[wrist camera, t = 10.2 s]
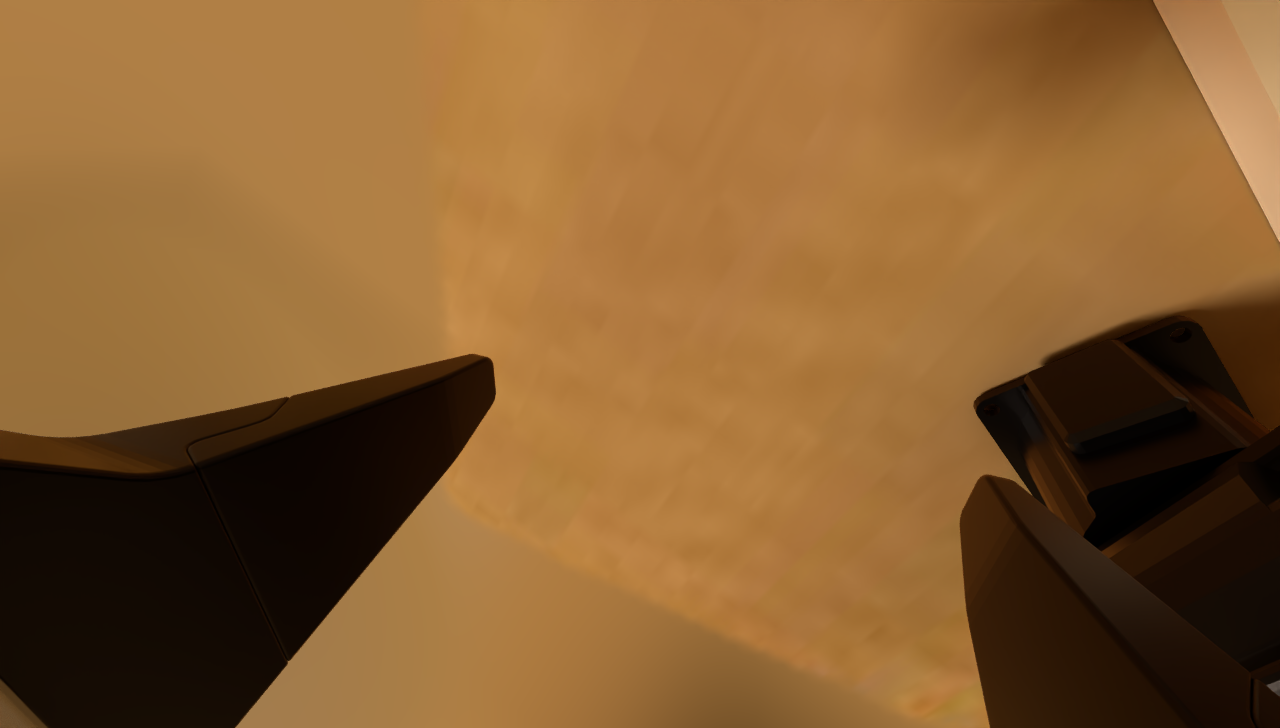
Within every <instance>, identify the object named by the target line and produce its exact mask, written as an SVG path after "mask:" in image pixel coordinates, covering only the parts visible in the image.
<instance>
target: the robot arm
mask: <svg viewBox="0 0 1280 728" xmlns="http://www.w3.org/2000/svg"><path fill="white" fill-rule="evenodd" d="M1180 328H1184V329H1185V330H1184V332H1183V334H1181V335H1180V336H1178V337H1174V338H1170V335H1171V334H1172V332H1173V331H1175V330H1177V329H1180ZM495 395H496V388H495V377H494V366H493V362H492V360H491V359H490V358H488V357H485V356H481V355H476V354H468V355H464V356H460V357H455V358H451V359H447V360H443V361H438V362H434V363H430V364H426V365H421V366H417V367H413V368H408V369H404V370H400V371H396V372H391V373H387V374H383V375H378V376H374V377H370V378H365V379H361V380H357V381H353V382H348V383H344V384H340V385H336V386H331V387H327V388H323V389H318V390H314V391H310V392H305V393H301V394H297V395H293V396H291V397H290V398H289V397H284V398H280V399H275V400H271V401H266V402H262V403H257V404H253V405H249V406H244V407H239V408H235V409H230V410H226V411H220V412H215V413H210V414H206V415H200V416H195V417H190V418H185V419H180V420H175V421H169V422H164V423H159V424H153V425H148V426H143V427H137V428H132V429H127V430H122V431H117V432H111V433H106V434H99V435H93V436H83V437H43V436H35V435H28V434H22V433H16V432H10V431H3V430H0V728H235V727H236V726H237V725H238V724H239V723H240V721H241V720H242V719H243V718H244V716H245V715H246V714H247V713H248V712H249V710H250V709H251V708H252V707H253V706H254V704H255V703H256V702H257V701H258V700H259V698H260V697H261V696H262V695H263V693H264V692H265V691H266V690H267V689H268V687H269V686H270V685H271V684H272V682H273V681H274V680H275V679H276V678H277V676H278V675H279V674H280V673H281V671H282V670H283V669H284V668H285V667H286V666H287V664H288V661H290V660H291V659H292V658H293V656H294V655H295V654H296V653H297V652H298V651H299V649H300V648H301V647H302V646H303V644H304V643H305V642H306V641H307V640H308V638H309V637H310V636H311V634H313V632H314V631H315V630H316V629H317V627H318V626H319V625H320V624H321V622H322V621H323V620H324V619H325V618H326V617H327V615H328V614H329V613H330V612H331V611H332V609H333V608H334V607H335V606H336V604H337V603H338V602H339V601H340V600H341V598H342V597H343V596H344V595H345V593H346V592H347V591H348V590H349V589H350V587H351V586H352V585H353V584H354V583H355V581H356V580H357V579H358V578H359V577H360V575H361V574H362V573H363V572H364V570H365V569H366V568H367V567H368V566H369V564H370V563H371V562H372V561H373V560H374V558H375V557H376V556H377V554H378V553H379V552H380V551H381V550H382V549H383V547H384V546H385V545H386V544H387V543H388V541H389V540H390V539H391V538H392V536H393V535H394V534H395V533H396V532H397V530H398V529H399V528H400V527H401V526H402V524H403V523H404V522H405V521H406V519H407V518H408V517H409V516H410V515H411V513H412V512H413V511H414V510H415V509H416V507H417V506H418V505H419V504H420V502H421V501H422V500H423V499H424V498H425V496H426V495H427V494H428V493H429V492H430V490H431V489H432V488H433V487H434V486H435V484H436V483H437V482H438V481H439V479H440V478H441V477H442V476H443V475H444V473H445V472H446V471H447V470H448V469H449V467H450V466H451V465H452V463H453V462H454V461H455V460H456V458H457V457H458V455H459V454H460V453H461V451H462V450H463V448H464V447H465V445H466V444H467V442H468V441H469V439H470V438H471V436H472V435H473V433H474V432H475V430H476V429H477V427H478V425H479V424H480V422H481V421H482V419H483V418H484V416H485V415H486V413H487V412H488V410H489V409H490V407H491V406H492V404H493V402H494V400H495ZM990 404H995V405H997V406H996V408H994V409H993V410H984V408H985V407H986V406H987V405H990ZM974 409H975V411H976V414H977V416H978V417H979V419H980V420H981V422H982V423H983V424H984V426H985V427H986V429H987V430H988V432H989V433H990V435H991V436H992V437H993V439H994V440H995V442H996V443H997V445H998V446H999V448H1000V449H1001V450H1002V452H1003V453H1004V455H1005V456H1006V458H1007V459H1008V461H1009V462H1010V463H1011V465H1012V466H1013V468H1014V469H1015V471H1016V472H1017V473H1018V475H1019V476H1020V478H1021V479H1022V481H1023V482H1024V484H1025V485H1026V486H1027V488H1028V489H1029V491H1030V492H1031V494H1032V495H1033V496H1032V495H1031V494H1029V493H1028V492H1027V491H1026V490H1024V489H1023V488H1022V487H1021V486H1019V485H1018V484H1017V483H1016V482H1014V481H1012V480H1010V479H1005V478H1001V477H997V476H992V475H987V474H986V475H983V476H981V477H980V478H979V479H978V481H977V483H976V485H975V487H974V488H973V490H972V492H971V494H970V496H969V498H968V500H967V502H966V504H965V506H964V508H963V510H962V513H961V517H960V537H961V550H962V564H963V577H964V590H965V602H966V611H967V617H968V622H969V628H970V633H971V638H972V642H973V647H974V652H975V657H976V662H977V667H978V672H979V676H980V681H981V686H982V691H983V696H984V701H985V706H986V710H987V715H988V720H989V725H990V728H1280V426H1278V427H1277V428H1275V429H1274V430H1272V431H1271V432H1270V431H1269V430H1268V429H1266V428H1265V427H1264V426H1262V425H1261V424H1260V423H1259V422H1257V421H1256V420H1255V419H1254V417H1253V416H1252V414H1251V412H1250V411H1249V409H1248V407H1247V405H1246V404H1245V402H1244V400H1243V398H1242V397H1241V395H1240V393H1239V391H1238V390H1237V388H1236V386H1235V384H1234V383H1233V381H1232V379H1231V377H1230V376H1229V374H1228V372H1227V371H1226V369H1225V367H1224V365H1223V364H1222V362H1221V360H1220V358H1219V357H1218V355H1217V353H1216V351H1215V350H1214V348H1213V346H1212V344H1211V343H1210V341H1209V339H1208V337H1207V336H1206V334H1205V332H1204V331H1203V329H1202V327H1201V326H1200V325H1199V324H1198V323H1196V322H1195V321H1193V320H1191V319H1190V318H1187V317H1184V316H1173V317H1170V318H1166V319H1164V320H1161V321H1159V322H1157V323H1154V324H1152V325H1149V326H1147V327H1144V328H1142V329H1140V330H1137V331H1135V332H1132V333H1130V334H1128V335H1125V336H1123V337H1120V338H1118V339H1115V340H1106V341H1103V342H1101V343H1098V344H1096V345H1094V346H1091V347H1089V348H1086V349H1084V350H1081V351H1079V352H1077V353H1074V354H1072V355H1069V356H1067V357H1065V358H1062V359H1060V360H1057V361H1055V362H1053V363H1050V364H1048V365H1045V366H1043V367H1041V368H1038V369H1036V370H1033V371H1031V372H1029V373H1028V374H1027V376H1026V377H1023V378H1021V379H1019V380H1016V381H1014V382H1011V383H1009V384H1006V385H1004V386H1002V387H999V388H997V389H994V390H992V391H990V392H987V393H985V394H982V395H981V396H979V397H977V399H976V400H975V401H974Z"/></svg>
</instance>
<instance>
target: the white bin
mask: <svg viewBox="0 0 1280 728" xmlns="http://www.w3.org/2000/svg"><path fill="white" fill-rule="evenodd" d="M1153 2H1154V4H1155V6H1156V7H1157V9H1158V11H1159V13H1160V15H1161V17H1162V19H1163V21H1164V23H1165V25H1166V26H1167V28H1168V30H1169V32H1170V34H1171V36H1172V38H1173V40H1174V42H1175V44H1176V46H1177V47H1178V49H1179V51H1180V53H1181V55H1182V57H1183V59H1184V61H1185V63H1186V65H1187V67H1188V68H1189V70H1190V72H1191V74H1192V76H1193V78H1194V80H1195V82H1196V84H1197V86H1198V88H1199V89H1200V91H1201V93H1202V95H1203V97H1204V99H1205V101H1206V103H1207V105H1208V107H1209V108H1210V110H1211V112H1212V114H1213V116H1214V118H1215V120H1216V122H1217V124H1218V126H1219V128H1220V129H1221V131H1222V133H1223V135H1224V137H1225V139H1226V141H1227V143H1228V145H1229V147H1230V149H1231V150H1232V152H1233V154H1234V156H1235V158H1236V160H1237V162H1238V164H1239V166H1240V168H1241V170H1242V171H1243V173H1244V175H1245V177H1246V179H1247V181H1248V183H1249V185H1250V187H1251V189H1252V191H1253V192H1254V194H1255V196H1256V198H1257V200H1258V202H1259V204H1260V206H1261V208H1262V210H1263V211H1264V213H1265V215H1266V217H1267V219H1268V221H1269V223H1270V225H1271V227H1272V229H1273V231H1274V232H1275V234H1276V236H1277V238H1278V240H1279V242H1280V0H1153Z"/></svg>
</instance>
